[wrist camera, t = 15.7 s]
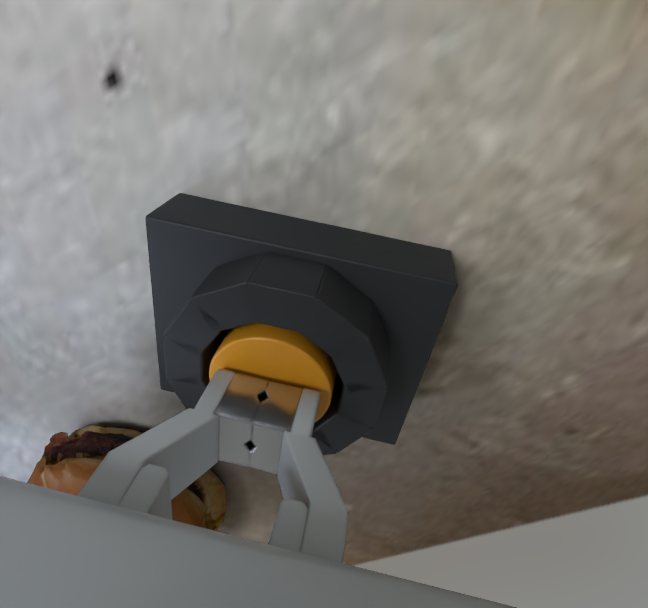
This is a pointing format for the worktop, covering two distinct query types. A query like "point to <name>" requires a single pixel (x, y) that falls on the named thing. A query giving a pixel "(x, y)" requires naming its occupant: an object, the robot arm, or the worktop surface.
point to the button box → (298, 304)
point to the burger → (89, 451)
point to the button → (277, 359)
